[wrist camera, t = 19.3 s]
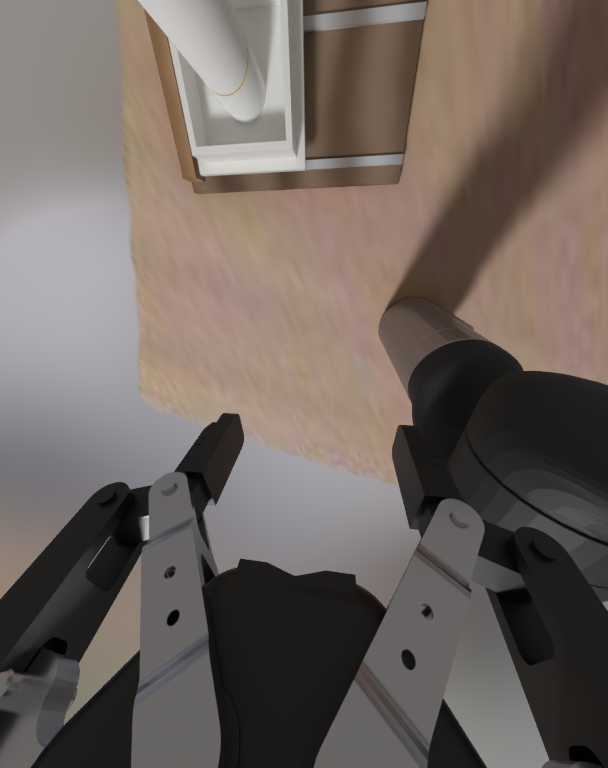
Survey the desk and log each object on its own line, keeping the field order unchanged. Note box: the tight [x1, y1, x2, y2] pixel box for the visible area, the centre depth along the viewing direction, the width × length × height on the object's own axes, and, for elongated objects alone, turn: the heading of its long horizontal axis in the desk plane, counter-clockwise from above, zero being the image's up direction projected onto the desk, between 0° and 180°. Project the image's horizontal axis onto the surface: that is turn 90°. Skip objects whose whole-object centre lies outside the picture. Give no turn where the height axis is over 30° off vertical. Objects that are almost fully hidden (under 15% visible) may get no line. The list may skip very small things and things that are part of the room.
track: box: [144, 0, 427, 194], centre depth 25 cm, size 26×14×3 cm, turn 92°
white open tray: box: [168, 0, 306, 176], centre depth 23 cm, size 12×12×6 cm
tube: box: [138, 0, 266, 124], centre depth 16 cm, size 4×4×15 cm
